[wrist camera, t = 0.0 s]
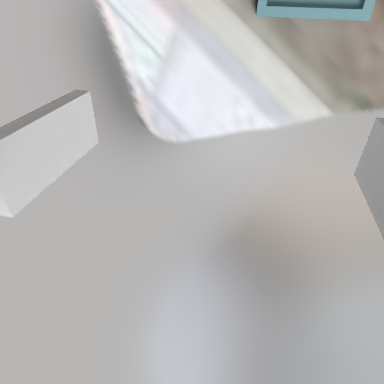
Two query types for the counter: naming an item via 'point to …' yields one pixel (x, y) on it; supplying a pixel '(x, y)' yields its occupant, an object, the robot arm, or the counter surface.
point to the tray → (317, 9)
